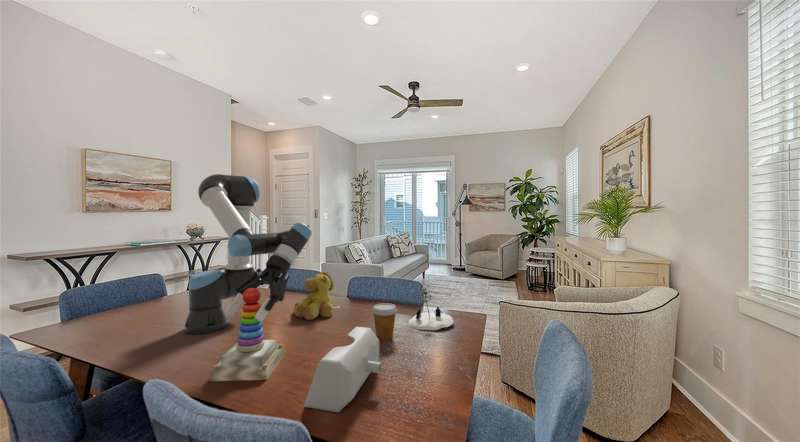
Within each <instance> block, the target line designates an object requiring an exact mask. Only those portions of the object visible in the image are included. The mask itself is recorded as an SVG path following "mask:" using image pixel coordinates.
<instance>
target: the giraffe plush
mask: <svg viewBox="0 0 800 442" xmlns="http://www.w3.org/2000/svg"><path fill="white" fill-rule="evenodd" d="M303 286H304V289H305V290H306V291H307V292H310V293H309V295H307V296H306V298H304V299H303V300H302V301H298V302H296V303H295V304H294V305H293V306H294V307H293V308H294V309H293V313H294V315H295V316H296V317H297V318H301V319H303V318H304V320H307V321H314V320H315V319H316V318H318V317H319V316H320V317H323V318H330V317H331V316H333V313H334V310H335V309H340V308H341V306H339V305H337V306H333V305H332V298H331V296H330V294H329V293H328V291H329V292H331V291H333V289H334V286H335V285H334V281H333V278H332V276H331V275H329V273H328V272H326V271H319V273H317V274H315V275H314V276H313V277H310V278H309V277H308V278H306V279H305V280H304V283H303Z"/></svg>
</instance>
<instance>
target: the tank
mask: <svg viewBox="0 0 800 442" xmlns="http://www.w3.org/2000/svg"><path fill="white" fill-rule="evenodd" d="M347 336H348V337H349V338H351V339H352V340H351V343H350V344H349V345H343V346H336V347H333V348H332V349H331V350H330V351H328V353H326V355H324V357H322V358H321V359H320V361H319V362H318V365H317V366H316V370H315V372H314V376H313V379H312V381H311V384H310V388H309V391H308V393H307V396H306V398H305V402H304V404H303V405H304V406H303V407H305V408H309V409H315V410H321V411H327V412H334V413H339V412H341V411H342V410H343V409H344V408H345V407H346V406H347V405H348V404H349V403H350V402H352V400H353V399H354V398H355V396H356V395H357V394H358V392H359V390H360V389H361V387H362V386H363V384H364V383H365V381H366V379H367V378H369V375H370V374H371V373H375V374H376V373H377V374H381V371H382V362H380V340H379V339H378V338H377V337H376V333H375V332H374V331H373V329H372V328H371V327H366V326H365V327H364V326H355V327H354V328H353V329H352V330H351V331H350V332H349V333H348V334H347Z"/></svg>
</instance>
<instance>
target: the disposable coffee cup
mask: <svg viewBox="0 0 800 442" xmlns="http://www.w3.org/2000/svg"><path fill="white" fill-rule="evenodd" d="M397 310H398V309H397V308H396V305H395V304H393V303H389V302H388V303H387V302H382V303H376V304H375V305H373V307H372V310H371V311H372V313H373V320H374V329H375V335H376V337H377V338H378V340H379V341H389V340H392V339H393V337H394V330H395V329H394V328H395V320H396V312H397Z"/></svg>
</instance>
